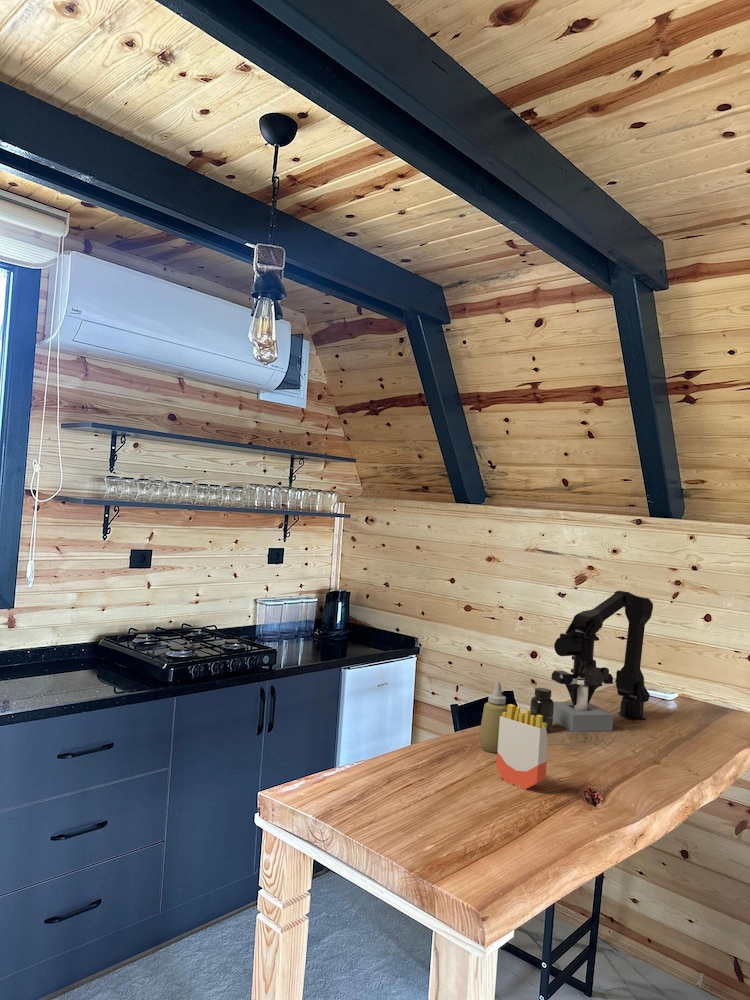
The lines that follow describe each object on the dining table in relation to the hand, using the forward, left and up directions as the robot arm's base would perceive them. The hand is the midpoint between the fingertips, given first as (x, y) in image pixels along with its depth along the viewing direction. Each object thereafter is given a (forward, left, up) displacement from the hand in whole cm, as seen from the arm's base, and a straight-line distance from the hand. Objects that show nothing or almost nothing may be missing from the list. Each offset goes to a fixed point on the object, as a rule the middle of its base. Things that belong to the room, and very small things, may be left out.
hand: (580, 704), depth 212 cm
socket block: (0, 0, -6) cm, 6 cm away
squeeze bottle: (+39, +19, -6) cm, 44 cm away
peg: (0, 0, -4) cm, 4 cm away
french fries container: (+43, +41, -6) cm, 60 cm away
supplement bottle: (+16, +4, -6) cm, 18 cm away
